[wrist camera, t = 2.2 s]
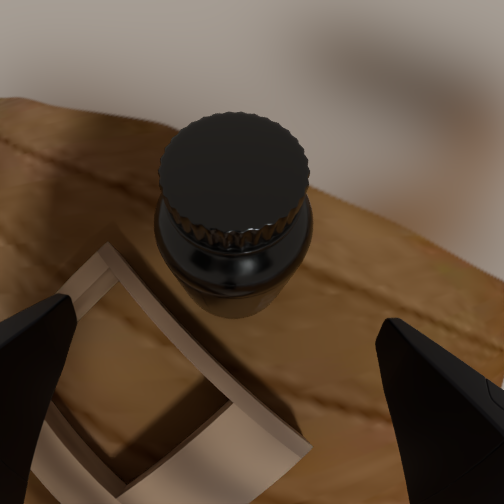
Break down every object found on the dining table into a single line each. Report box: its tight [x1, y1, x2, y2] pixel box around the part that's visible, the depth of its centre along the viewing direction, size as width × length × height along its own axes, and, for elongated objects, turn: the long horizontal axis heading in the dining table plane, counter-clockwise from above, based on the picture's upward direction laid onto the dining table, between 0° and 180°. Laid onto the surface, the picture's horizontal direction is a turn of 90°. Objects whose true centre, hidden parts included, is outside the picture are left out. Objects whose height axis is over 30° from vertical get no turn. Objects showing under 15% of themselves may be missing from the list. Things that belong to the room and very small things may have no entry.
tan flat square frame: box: [31, 241, 313, 504], centre depth 14 cm, size 17×18×2 cm
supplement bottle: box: [154, 112, 313, 319], centre depth 14 cm, size 7×7×12 cm
